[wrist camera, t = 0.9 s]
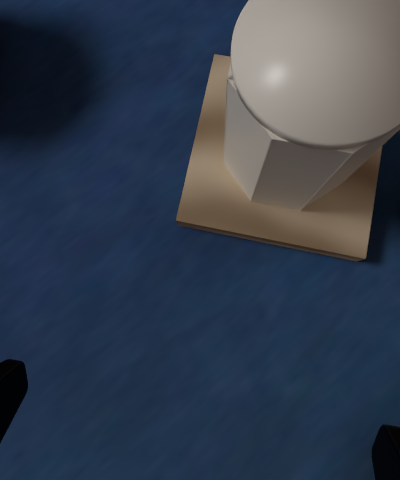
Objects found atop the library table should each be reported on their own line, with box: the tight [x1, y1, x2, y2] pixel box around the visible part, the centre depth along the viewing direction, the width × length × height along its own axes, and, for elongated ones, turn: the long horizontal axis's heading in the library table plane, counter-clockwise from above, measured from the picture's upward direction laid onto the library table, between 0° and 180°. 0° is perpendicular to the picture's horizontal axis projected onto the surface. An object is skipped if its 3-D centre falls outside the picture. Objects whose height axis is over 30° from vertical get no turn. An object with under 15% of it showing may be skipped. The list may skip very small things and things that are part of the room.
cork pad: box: [176, 54, 382, 261], centre depth 24 cm, size 12×12×2 cm
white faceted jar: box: [223, 0, 400, 211], centre depth 19 cm, size 8×8×10 cm
